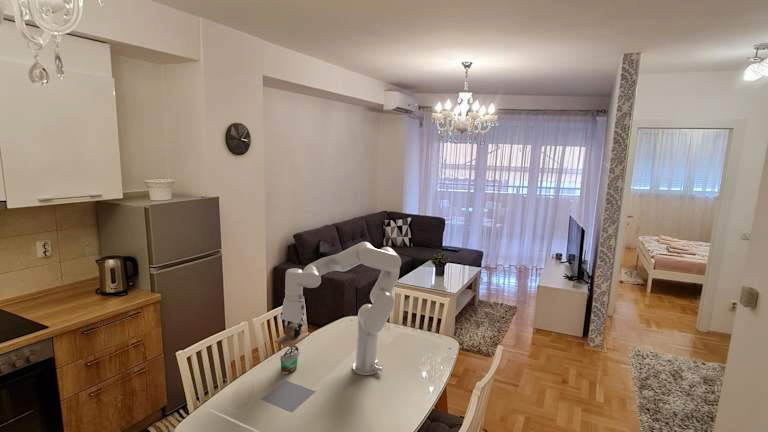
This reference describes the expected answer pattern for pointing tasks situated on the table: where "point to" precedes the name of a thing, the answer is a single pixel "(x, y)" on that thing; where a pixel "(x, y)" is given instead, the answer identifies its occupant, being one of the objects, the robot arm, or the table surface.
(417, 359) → the table surface
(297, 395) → the rubber mat
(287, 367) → the food container
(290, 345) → the walnut lid
